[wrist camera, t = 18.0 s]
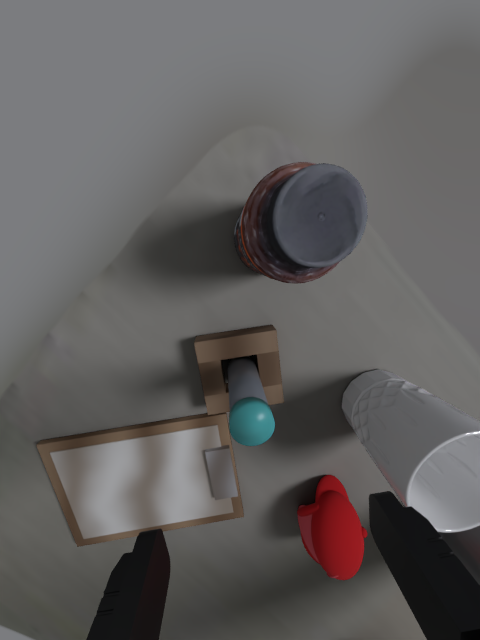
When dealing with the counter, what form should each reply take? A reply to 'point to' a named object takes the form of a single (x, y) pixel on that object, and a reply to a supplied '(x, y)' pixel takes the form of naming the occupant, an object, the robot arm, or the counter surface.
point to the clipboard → (144, 477)
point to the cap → (332, 530)
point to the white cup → (419, 447)
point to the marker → (248, 404)
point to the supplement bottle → (301, 222)
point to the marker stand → (233, 346)
